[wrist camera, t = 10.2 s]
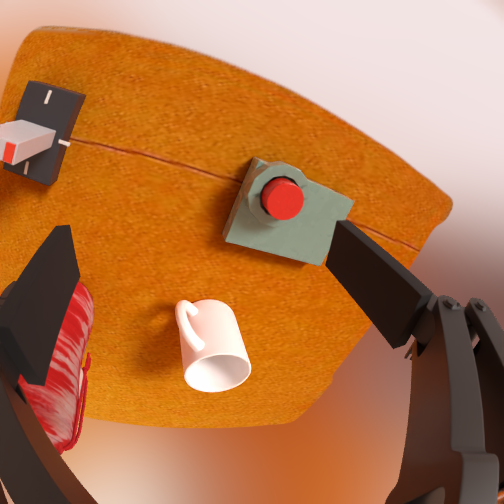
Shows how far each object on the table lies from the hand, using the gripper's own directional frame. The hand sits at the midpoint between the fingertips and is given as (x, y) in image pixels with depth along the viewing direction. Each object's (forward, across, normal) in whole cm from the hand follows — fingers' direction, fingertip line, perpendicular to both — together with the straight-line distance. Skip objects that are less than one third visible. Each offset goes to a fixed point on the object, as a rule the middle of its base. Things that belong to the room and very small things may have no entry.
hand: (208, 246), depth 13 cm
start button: (+15, +9, -2) cm, 18 cm away
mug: (+19, +2, -21) cm, 28 cm away
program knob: (+16, -17, +5) cm, 24 cm away
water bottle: (+19, -18, -16) cm, 31 cm away
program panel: (+19, -17, +5) cm, 26 cm away
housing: (+19, +12, -6) cm, 23 cm away
